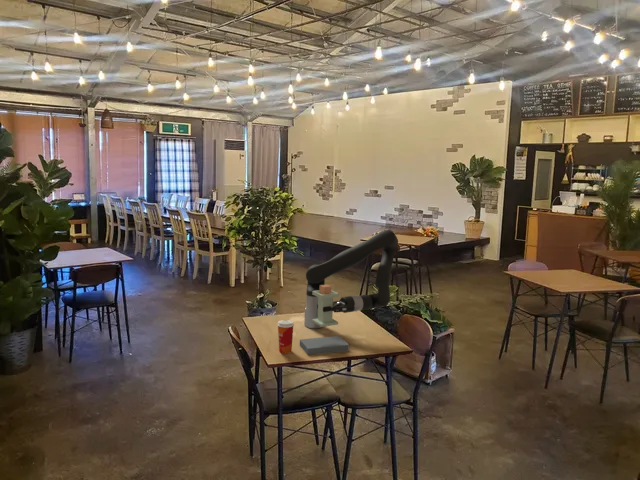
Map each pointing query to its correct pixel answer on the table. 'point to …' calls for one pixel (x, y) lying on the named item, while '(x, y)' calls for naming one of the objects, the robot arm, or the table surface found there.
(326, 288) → the cube
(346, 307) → the robot arm
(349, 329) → the table surface
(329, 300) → the green pedestal
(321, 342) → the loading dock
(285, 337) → the paper cup
